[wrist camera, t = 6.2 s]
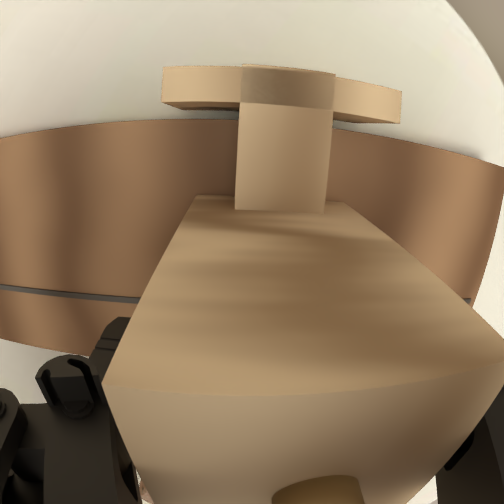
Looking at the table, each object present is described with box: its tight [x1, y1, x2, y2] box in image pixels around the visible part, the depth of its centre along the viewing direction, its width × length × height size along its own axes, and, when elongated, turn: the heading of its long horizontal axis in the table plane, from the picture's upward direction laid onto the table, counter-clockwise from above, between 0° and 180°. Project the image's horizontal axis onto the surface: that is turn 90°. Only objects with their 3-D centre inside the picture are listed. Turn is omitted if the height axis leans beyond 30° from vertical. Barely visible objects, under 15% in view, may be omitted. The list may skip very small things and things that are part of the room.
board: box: [0, 119, 504, 356], centre depth 15 cm, size 32×12×3 cm, turn 87°
